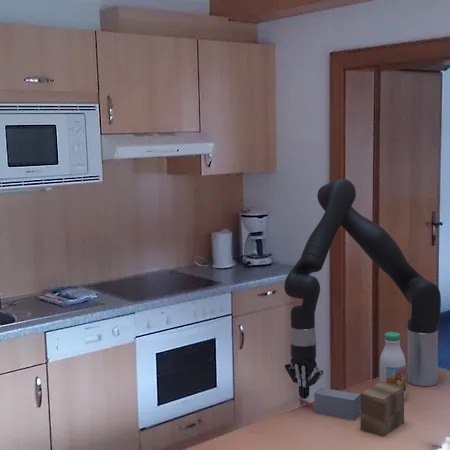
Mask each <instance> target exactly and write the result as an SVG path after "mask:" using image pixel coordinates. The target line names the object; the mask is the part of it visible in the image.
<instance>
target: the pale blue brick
mask: <svg viewBox="0 0 450 450" xmlns="http://www.w3.org/2000/svg"><path fill="white" fill-rule="evenodd" d="M313 399H314V402H313V403H314V413H315V414H320V415H324V414H325V415H326V416H329V415H330V416H329V417H335V418H339V417H340V418H339V419H345V420H351V421H355V420H356V419H357V418H358V417H359V416H360V393H355V392H354V393H352V392H348V391H342V390H337V389H332V388H326V387H325V388H324V387H320V388H319V389H318V390H316V391H315V392H314V394H313ZM325 415H324V416H325Z"/></svg>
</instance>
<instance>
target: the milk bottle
mask: <svg viewBox="0 0 450 450" xmlns="http://www.w3.org/2000/svg"><path fill="white" fill-rule="evenodd" d="M384 342H385V344H384V347H383V349H382V352H381V354H380V358H379V382H386V383H390V384H394V385H399V386H403V387H404V401H405V399H406V397H407V367H406V366H407V365H406V363H407V361H406V359H405V358H406V356H405V355H404V352H403V350H402V348H401V344H400V343H401V334H400V333H399V332H395V331H389V332H385V333H384Z"/></svg>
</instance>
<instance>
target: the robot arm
mask: <svg viewBox="0 0 450 450" xmlns="http://www.w3.org/2000/svg"><path fill="white" fill-rule="evenodd" d="M356 195H357V191H356V188H355V185H354V184H353V182H351V181H350V180H349V179H345V178H338V179H335V180H333V181H330V182H328V183H326V184H324V185H321V187H319V189H318V191H317V194H316V196H317V201H318V203H319V205H320V207H321V208H322V209H323V211H324V213H323V215H322V217H321V219H320V220H319V222H318V224H317V225H316V226H315V228H314V230H313V231H312V232H311V234H310V236H309V237H308V239H307V241H306V244H305V246H304V248H303V251H302V254H301V255H300V258H299V259H298V260H297V262H296V263H295V265H294V266H293V267H292V269H291V270H290V272H289V273H288V274H287V276H286V278H285V281H284V285H283V286H284V287H283V288H284V292H285V294H286V295H287V296H289V297H290V298H294V299H299V300H302V302H301V303H302V304H301V305H295V306H293V307H292V308H291V310H290V332H289V333H290V334H289V339H290V340H289V341H290V343H289V344H290V357H291V358H290V362H288V363H286V364H285V365H284V368H285V371H286V372H287V374H288V376H289V377H290V378H291V380H292V382H293V383H294V384H295V383H296V384H297V385H298V395H299V398H301V399H304V400H305V399H307V398H308V397H310V387H311V386H314V385H316V383H317V382H318V380H319V379H320V378H321V377H322V376H323V375H324V370H322V369H321V370H320V369H319V367H317V366H318V364H317V362H316V357H317V333H316V322H315V319H316V316H315V314H316V309H317V305H318V301H319V297H320V294H321V286H320V282H319V280H318V278H317V277H315V276H313V275H311V274H313V273H317V272H320V271H321V270H322V269H323V267H324V264H325V261H326V259H327V256H328V254H329V251H330V248H331V246H332V244H333V241H334V239H335V236H337V233H338V231H339V229H340V227H342V228H343V229H344V230H345V231H346V232H347V234H348V235H349V236H350V237H351V238H352V239H353V240H354V241H355V243H357V244H358V245H359V246H360V248H361V249H362V251H363V252H364V253H365V254H366V256H368V257H369V258H370V259H371V261H373V263H374V264H376V266H378V268H379V269H381V270H382V271H383V272H384V273H385V274H386V275H387V276H389V278H390V279H391V280H392V281H393V282H394V284H395V285H396V286H397V288H398V289H399V290H400V292H401V294H402V295H403V296H404V298H405V299H406V300H407V303H410V304H411V317H410V318H409V319H408V320H407V382H408V383H410V384H411V385H412V386H413V385H415V386H419V387H432V386H435V385H437V384H438V380H439V379H438V377H439V376H438V373H439V372H438V370H439V369H438V366H439V365H438V361H439V360H438V357H439V355H438V352H439V350H438V349H439V347H438V346H439V344H438V343H439V340H438V339H439V332H438V331H439V329H438V328H439V323H440V322H441V307H442V301H441V300H442V295H441V291H440V289H439V287H438V286H437V284H435V283H433V282H431V281H430V280H427V279H426V278H424V277H423V276H422V275H421V274H420V273H419V272H418V271H417V270H416V269H415V268H413V266H412V265H411V264H410V263H409V262H408V260H407V258H406V257H405V255H404V253H403V252H402V250H401V248H400V246H399V245H398V243H397V242H396V241H395V239H393V237H392V236H391V235H390V234H389V233H388V232H387V231H386V230H385V228H383V227H382V226H380V225H379V224H377V223H376V222H374V221H372V220H371V219H368V218H367V217H365V216H363V215H362V214H360V213H359V212H358V211H357V210H356V209H355V208H354V207H353V204H354V202H355V201H356V200H355V199H356Z"/></svg>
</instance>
